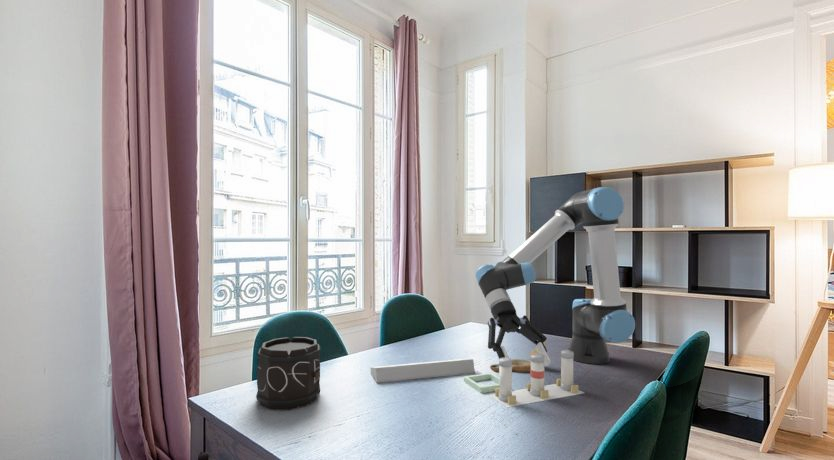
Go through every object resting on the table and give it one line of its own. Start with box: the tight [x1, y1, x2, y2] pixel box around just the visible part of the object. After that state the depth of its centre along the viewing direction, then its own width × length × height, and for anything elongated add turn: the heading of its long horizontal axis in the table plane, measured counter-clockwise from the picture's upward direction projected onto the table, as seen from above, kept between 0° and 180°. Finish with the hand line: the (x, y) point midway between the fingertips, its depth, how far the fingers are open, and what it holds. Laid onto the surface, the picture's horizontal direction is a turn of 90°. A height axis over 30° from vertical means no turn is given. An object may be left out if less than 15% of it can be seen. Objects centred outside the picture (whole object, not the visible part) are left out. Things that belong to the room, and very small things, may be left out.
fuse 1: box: [498, 357, 513, 402], centre depth 112 cm, size 4×4×11 cm
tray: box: [463, 372, 499, 394], centre depth 123 cm, size 10×10×3 cm
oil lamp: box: [489, 341, 547, 373], centre depth 139 cm, size 9×21×10 cm, turn 105°
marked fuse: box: [529, 354, 546, 397], centre depth 116 cm, size 4×4×11 cm
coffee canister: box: [255, 336, 322, 411], centre depth 115 cm, size 18×18×16 cm
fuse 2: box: [560, 349, 575, 391], centre depth 121 cm, size 4×4×11 cm
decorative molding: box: [369, 358, 475, 384], centre depth 138 cm, size 34×5×10 cm
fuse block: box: [489, 377, 585, 408], centre depth 116 cm, size 27×9×4 cm, turn 113°
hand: (529, 366), depth 118 cm, fingers open, 13 cm apart
